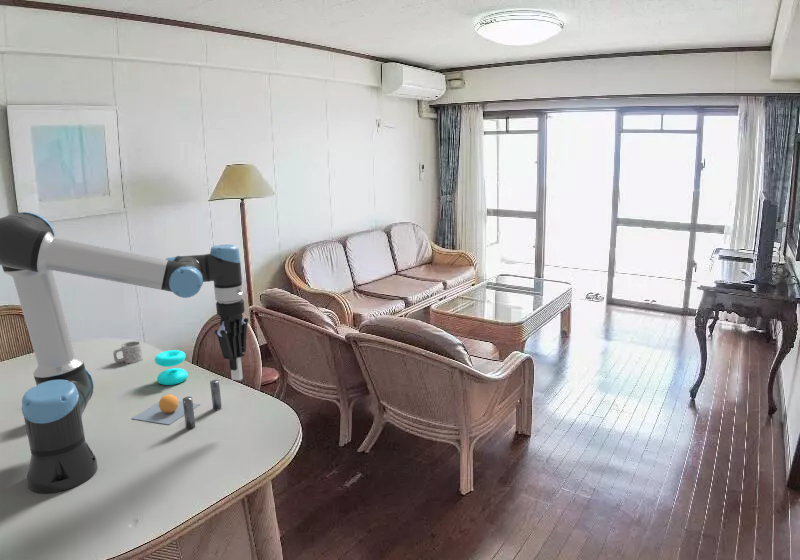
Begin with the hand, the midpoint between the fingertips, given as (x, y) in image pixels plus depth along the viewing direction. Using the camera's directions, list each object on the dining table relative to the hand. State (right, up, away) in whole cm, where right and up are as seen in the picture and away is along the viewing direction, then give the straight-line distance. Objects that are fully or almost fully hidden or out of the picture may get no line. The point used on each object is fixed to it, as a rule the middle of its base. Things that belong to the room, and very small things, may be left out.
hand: (237, 378), depth 166 cm
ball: (-24, -10, +11) cm, 28 cm away
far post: (-10, -11, +13) cm, 20 cm away
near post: (-14, -14, +1) cm, 20 cm away
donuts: (-33, -7, +36) cm, 49 cm away
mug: (-58, -3, +56) cm, 80 cm away
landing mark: (-25, -12, +12) cm, 30 cm away
